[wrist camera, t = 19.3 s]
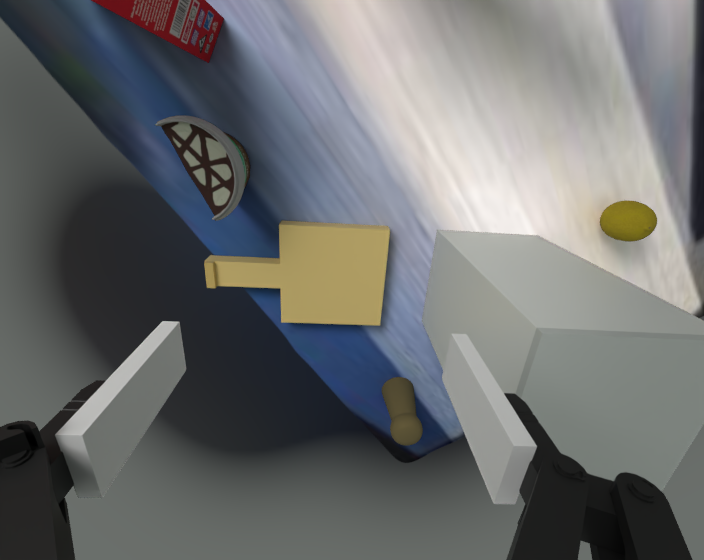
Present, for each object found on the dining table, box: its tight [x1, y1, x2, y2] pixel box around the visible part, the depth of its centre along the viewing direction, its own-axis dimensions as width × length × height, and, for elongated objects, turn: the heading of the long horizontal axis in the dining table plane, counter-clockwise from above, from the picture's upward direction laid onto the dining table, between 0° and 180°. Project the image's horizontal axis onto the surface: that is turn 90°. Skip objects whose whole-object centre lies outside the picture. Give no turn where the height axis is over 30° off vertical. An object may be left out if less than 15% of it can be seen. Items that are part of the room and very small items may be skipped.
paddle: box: [204, 221, 390, 325], centre depth 53 cm, size 27×16×3 cm, turn 87°
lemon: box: [600, 201, 657, 241], centre depth 49 cm, size 6×6×8 cm
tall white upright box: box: [422, 230, 704, 491], centre depth 42 cm, size 16×16×30 cm
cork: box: [382, 377, 423, 445], centre depth 59 cm, size 6×6×11 cm
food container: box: [155, 116, 250, 221], centre depth 43 cm, size 12×6×10 cm, turn 23°
